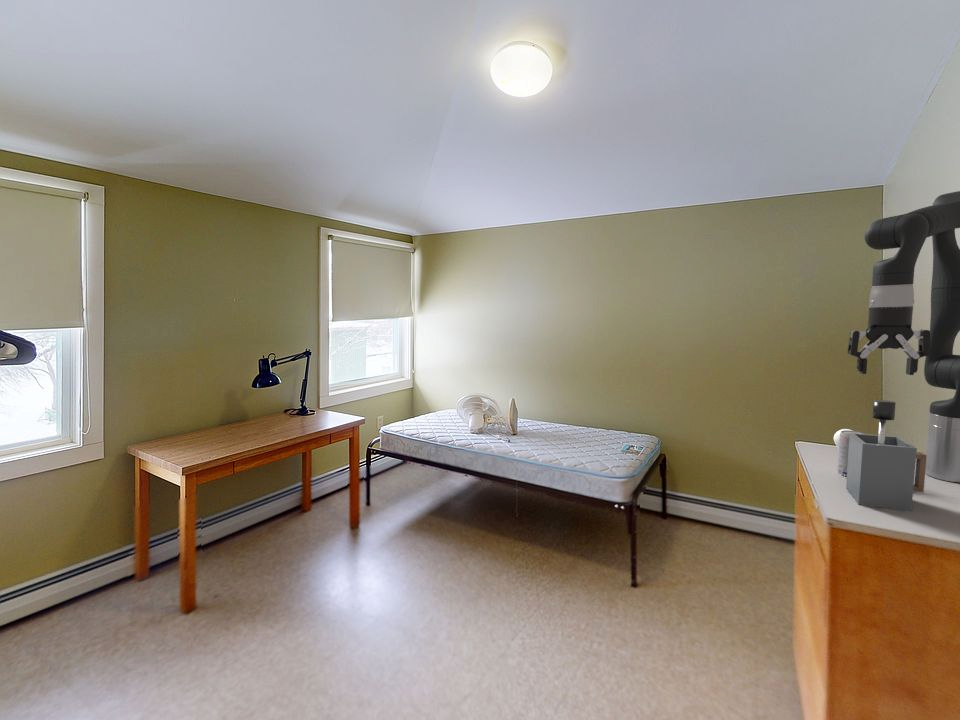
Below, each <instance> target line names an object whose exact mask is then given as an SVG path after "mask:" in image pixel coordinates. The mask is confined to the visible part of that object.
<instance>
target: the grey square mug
mask: <svg viewBox="0 0 960 720" xmlns="http://www.w3.org/2000/svg"><path fill="white" fill-rule="evenodd" d="M917 450H918V448H917V447H916V446H914V445H912V444H911V443H910V442H908V441H907V440H905V439H904V438H902V437H900V436H895V435H885V443H884V445H882V444H878V434H871V433H869V434H867V433H863V434H857V433H850V437H849V452H848V467H847V477H846V482H845V483H846V486H845V490H846V489H847V490H848V491H847V490H846V491H847V493H849V495H850V494H851V495H852V496H851V495H850V496H851V497H852V499H855V500H854V501H855V502H856V503H857V505H859V504H861V506H866V505H867V506H868V507H874V508H875V507H876V508H883V509H890V510H891V509H892V510H900V511H905V512H912V509H913V508H912V507H913V497H914V492H915V493H916V492H917V493H918V492H919V493H924V492H925V491H924V490H925V481H926V480H925V479H926V474H925V470H926V458H927V455H926V453H924V452H921V451H917Z"/></svg>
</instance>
